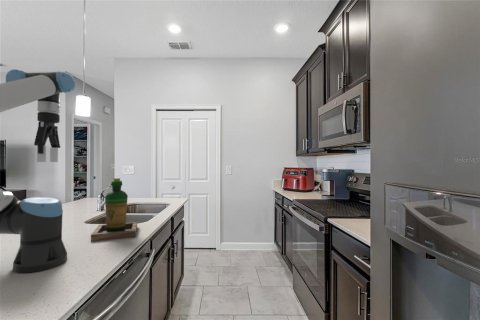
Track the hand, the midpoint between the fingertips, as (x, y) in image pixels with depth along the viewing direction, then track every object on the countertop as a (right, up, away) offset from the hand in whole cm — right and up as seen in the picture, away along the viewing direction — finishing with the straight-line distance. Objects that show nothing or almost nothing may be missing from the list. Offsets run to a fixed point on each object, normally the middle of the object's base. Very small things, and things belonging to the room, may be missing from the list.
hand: (48, 162), depth 104 cm
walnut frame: (+19, -37, +20) cm, 46 cm away
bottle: (+19, -37, +20) cm, 46 cm away
